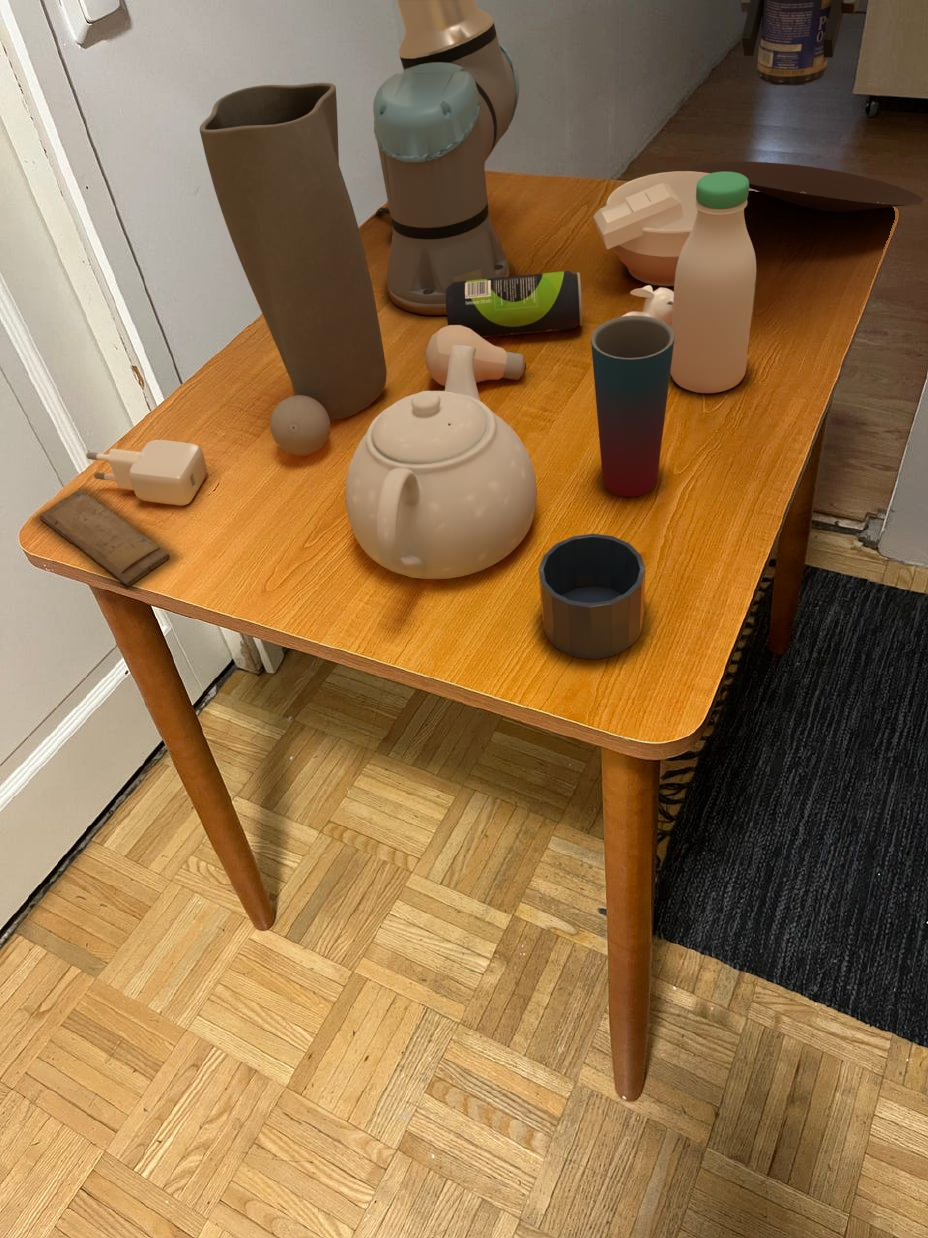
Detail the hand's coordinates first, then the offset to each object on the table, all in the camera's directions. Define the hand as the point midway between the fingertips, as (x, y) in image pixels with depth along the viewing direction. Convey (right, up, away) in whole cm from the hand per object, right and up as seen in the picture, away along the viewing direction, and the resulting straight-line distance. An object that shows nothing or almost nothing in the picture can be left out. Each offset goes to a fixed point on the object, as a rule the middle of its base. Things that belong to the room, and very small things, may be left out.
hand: (787, 47), depth 82 cm
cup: (-13, -37, +7) cm, 39 cm away
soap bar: (-8, -5, +26) cm, 27 cm away
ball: (-46, -33, +14) cm, 59 cm away
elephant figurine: (-8, -20, +16) cm, 27 cm away
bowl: (-3, -7, +33) cm, 34 cm away
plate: (+14, +3, +37) cm, 40 cm away
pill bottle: (+2, 0, +5) cm, 5 cm away
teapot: (-30, -41, +5) cm, 51 cm away
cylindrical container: (-18, -50, -5) cm, 53 cm away
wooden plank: (-61, -40, +10) cm, 74 cm away
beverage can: (-30, -15, +26) cm, 42 cm away
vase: (-42, -26, +21) cm, 53 cm away
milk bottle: (-3, -24, +17) cm, 30 cm away
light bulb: (-27, -24, +21) cm, 41 cm away
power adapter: (-59, -32, +14) cm, 69 cm away
